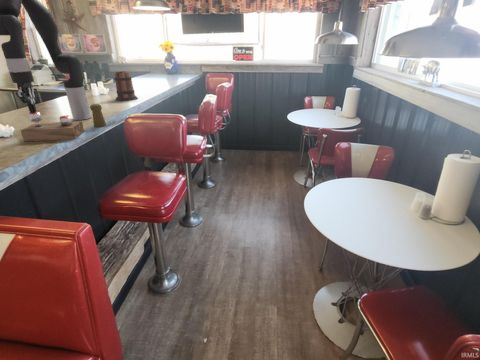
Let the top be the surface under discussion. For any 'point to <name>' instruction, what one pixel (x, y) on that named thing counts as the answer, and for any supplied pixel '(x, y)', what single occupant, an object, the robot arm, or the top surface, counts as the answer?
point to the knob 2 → (65, 120)
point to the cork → (97, 115)
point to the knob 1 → (35, 118)
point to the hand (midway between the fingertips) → (33, 112)
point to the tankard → (124, 87)
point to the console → (52, 131)
